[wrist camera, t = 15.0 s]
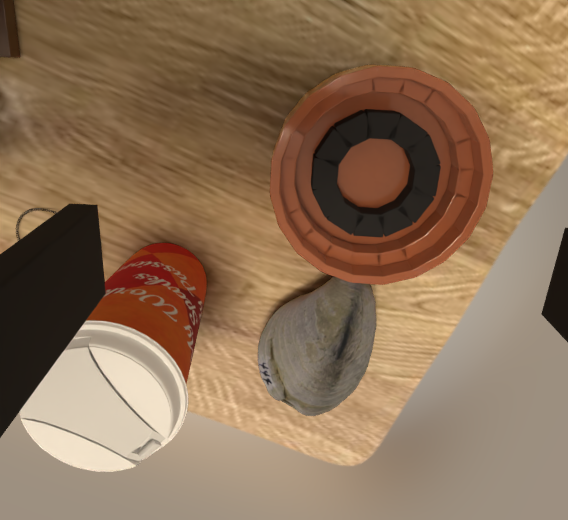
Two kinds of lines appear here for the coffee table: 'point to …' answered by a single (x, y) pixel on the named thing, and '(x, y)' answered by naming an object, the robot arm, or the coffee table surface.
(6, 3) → the ring stand
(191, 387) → the coffee table surface
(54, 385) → the coffee cup
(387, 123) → the ring
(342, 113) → the bowl
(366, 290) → the seashell
